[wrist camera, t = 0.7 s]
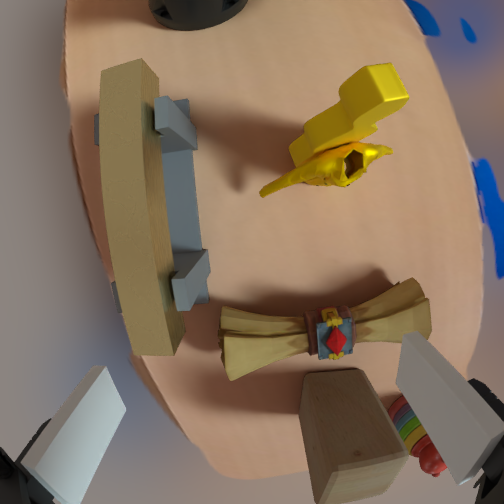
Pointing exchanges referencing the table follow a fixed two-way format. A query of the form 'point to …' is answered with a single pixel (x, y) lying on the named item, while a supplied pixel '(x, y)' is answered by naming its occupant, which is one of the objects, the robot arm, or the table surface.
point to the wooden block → (348, 437)
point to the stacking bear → (416, 437)
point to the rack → (179, 202)
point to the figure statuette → (345, 131)
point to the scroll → (321, 329)
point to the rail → (137, 208)
